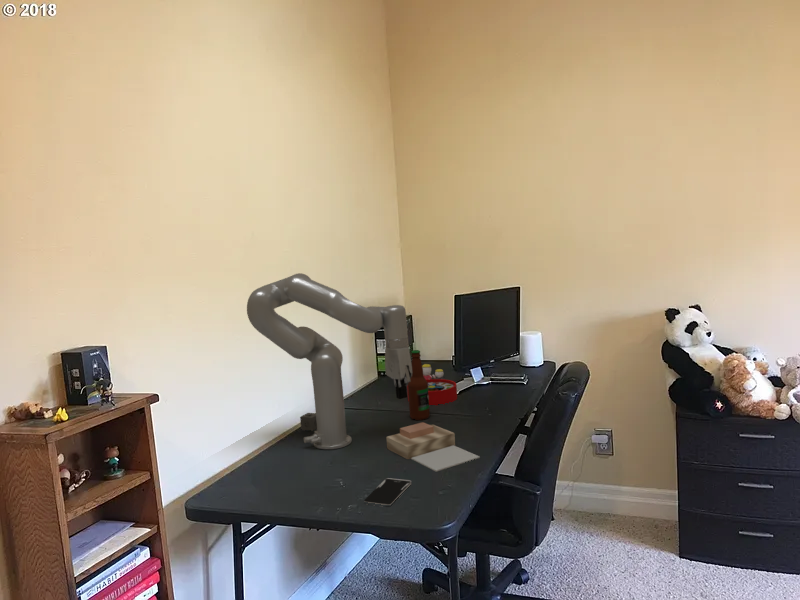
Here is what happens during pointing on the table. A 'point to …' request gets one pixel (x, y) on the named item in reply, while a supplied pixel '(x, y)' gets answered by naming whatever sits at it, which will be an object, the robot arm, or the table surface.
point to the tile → (416, 430)
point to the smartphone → (388, 491)
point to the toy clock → (441, 391)
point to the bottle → (418, 390)
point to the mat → (445, 458)
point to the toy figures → (427, 372)
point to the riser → (420, 443)
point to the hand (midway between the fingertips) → (401, 397)
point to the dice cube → (308, 421)
